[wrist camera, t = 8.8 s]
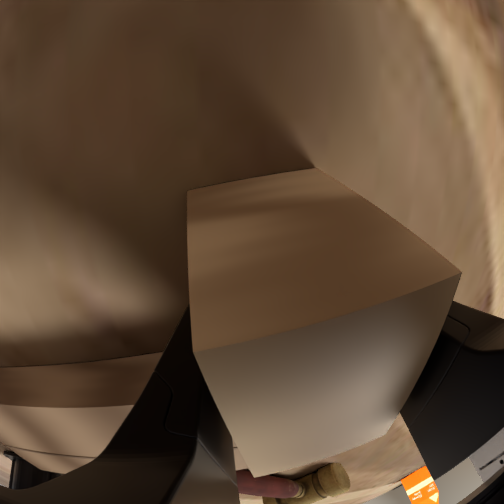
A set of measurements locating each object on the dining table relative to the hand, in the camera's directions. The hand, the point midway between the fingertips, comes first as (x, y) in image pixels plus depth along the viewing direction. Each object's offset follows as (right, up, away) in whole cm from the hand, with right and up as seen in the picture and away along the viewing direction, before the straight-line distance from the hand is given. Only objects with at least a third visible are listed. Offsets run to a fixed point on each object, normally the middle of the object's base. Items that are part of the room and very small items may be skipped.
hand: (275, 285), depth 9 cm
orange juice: (+63, -87, +67) cm, 127 cm away
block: (0, -2, +3) cm, 3 cm away
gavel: (0, -21, +15) cm, 26 cm away
